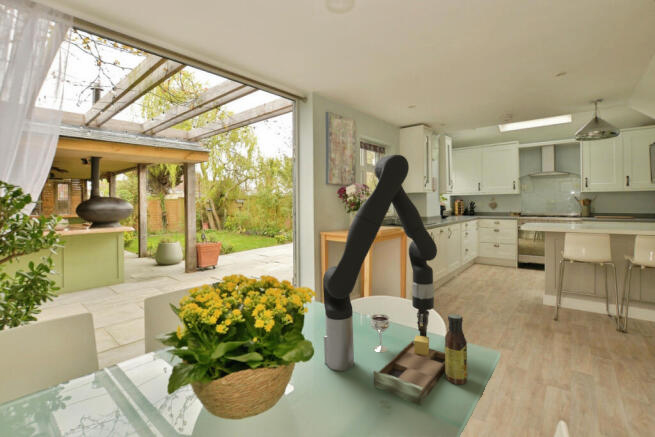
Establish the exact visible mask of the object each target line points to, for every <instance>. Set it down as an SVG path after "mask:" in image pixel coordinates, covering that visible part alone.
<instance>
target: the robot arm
mask: <svg viewBox="0 0 655 437" xmlns="http://www.w3.org/2000/svg"><path fill="white" fill-rule="evenodd" d="M409 166H410V165H409V161H408V159H407V158H406V157H405V156H404V155H401V154H392V155H387V156H383V157H381V158H379V159H378V160H377V161H376V162H375V165H374V172H375V173H374V174H375V176H376V178H377V184H376V186H375V188H374V189H373V191H372V192H371V194H370V195H369V196H368V198H367V199H366V200H365V201H364V202H363V203H362V204H361V206H360V207H359V208H358V210H357V211H356V213H355V215H354V217H353V220H352V222H351V224H350V226H349V229H348V232H347V237H346V241H345V245H344V246H345V247H344V250H343V253H342V255H341V258H340V260H339V262H338V264H337V266H336V265H334V266H331V267H329V268H328V269H327V270H326V271H325V272H324V274H323V278H322V286H323V287H322V291H323V304H324V305H323V306H324V311H325V335H324V336H323V345H324V346H323V350H324V351H323V352H324V364H326V365H327V367H328V368H330V369H331V370H333V371H339V372H341V371H342V372H343V371H348V370H350V369H351V368H352V367H353V366H354V364H355V360H354V358H355V355H354V354H355V352H354V320H353V318H354V317H353V315H354V314H353V306H352V302H351V301H352V300H351V293H352V292H353V290H354V288H355V286H356V283H357V280H358V278H359V274H360V271H361V269H362V266H363V263H364V261H365V259H366V258H367V255H368V253H369V251H370V250H371V247H372V245H373V243H374V241H375V240H376V237H377V235H378V234H379V231H380V229H381V226H382V224H383V221H384V220H385V218H386V216H387V213H388V211H389V209H390V207H391V205H392V206H393V209H395V211H396V214H397V216H398V219H399V221H400V224H401V226H402V229H403V231H404V234H405V235H406V237H408V238H409V239H411V242H410V244H409V247H408V255H409V256H408V257H409V261H410V265H411V268H412V269H411V270H412V286H411V288H412V289H411V290H412V292H411V294H412V295H411V296H412V298H411V300H412V304H411V305H412V307H413V308H414V309H417V313H416V318H417V322H416V323H417V328H418V332H419V336H424V337H428V336H427V334H428V333H427V332H428V325H429V317H430V311H431V310H433V309H434V307H435V288H434V270H433V268H432V267H431V266H430V265H429V264H428V263H427V262H430V261H433V260H434V259H435V258H436V256H437V254H438V247H437V244H436V242H435V240H434V239H433V238H432V235H431V234H430V233H429V231H428V230H427V229H426V227H425V225H424V222H423V219H422V217H421V215H420V212H419V210H418V209H417V207H416V205H415V204H414V202H413V201H412V200H411V199H410V197H409V196H408V194H407V192H406V191H405V190H404V188H403V183H404V182H405V180H406V178H407V176H408V175H409V174H408V173H409V169H410V167H409Z"/></svg>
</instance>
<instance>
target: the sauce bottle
mask: <svg viewBox="0 0 655 437" xmlns="http://www.w3.org/2000/svg"><path fill="white" fill-rule="evenodd" d="M447 316H448V317H447V319H448V331H447V333H446V334H445V336H444V343H445V344H444V353H445V372H444V374H445V378H446V380H447V381H448V382H450V383H452V384H454V385H464V384H466V382H467V380H468V378H467V377H468V343H467V342H468V341H467V339H466V337H465V333H464V331H463V321H464V320H463V319H464V318H463V316H462V315H461V314H456V313H449V314H448V315H447Z"/></svg>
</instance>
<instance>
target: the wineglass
mask: <svg viewBox="0 0 655 437" xmlns="http://www.w3.org/2000/svg"><path fill="white" fill-rule="evenodd" d="M370 318H371V321H370V325H371V328H372V329H374V330H375V332H378V334H379V345H375V346H374V347H373V349H374V351H375V352H378V353H386V352H387V351H388V348H387V347H386V346H385V345H382V333H383V332H385V331H386V330H388V329H389V327H390V321H389V319H390V316H388V315H387V314H380V313H377V314H373V315H371V317H370Z"/></svg>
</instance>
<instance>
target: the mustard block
mask: <svg viewBox="0 0 655 437" xmlns="http://www.w3.org/2000/svg"><path fill="white" fill-rule="evenodd" d="M413 341H414V353H416V354H422V355H427V356H428V353H429V348H430V337H429V336H427V337H424V336H420V335H418V334H415V337H414V340H413Z"/></svg>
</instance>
